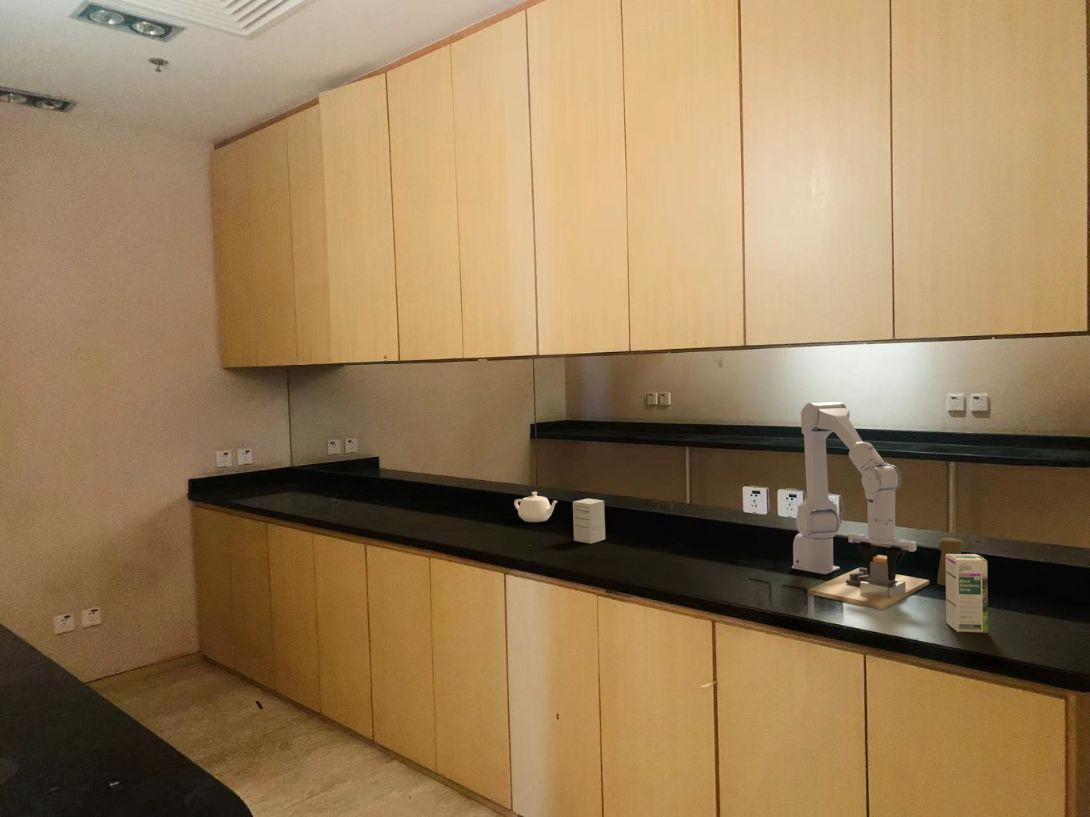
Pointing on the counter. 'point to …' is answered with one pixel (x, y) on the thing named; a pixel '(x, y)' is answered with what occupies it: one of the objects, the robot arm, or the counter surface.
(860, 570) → the clip
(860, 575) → the middle clip
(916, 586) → the board
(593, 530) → the supplement box
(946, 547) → the cork
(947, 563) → the syrup box
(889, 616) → the counter surface
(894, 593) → the end holder
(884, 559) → the grey upright block
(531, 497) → the teapot
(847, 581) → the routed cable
